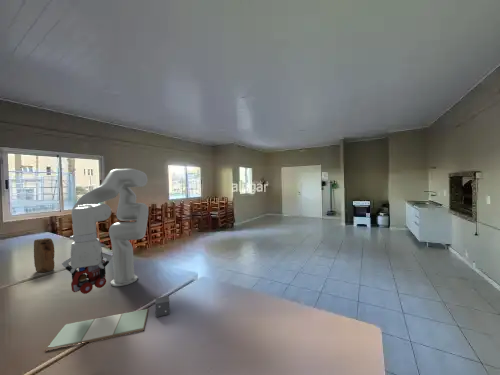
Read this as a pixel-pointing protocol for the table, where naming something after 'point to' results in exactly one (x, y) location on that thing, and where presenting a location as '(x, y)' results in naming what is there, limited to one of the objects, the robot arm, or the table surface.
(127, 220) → the robot arm
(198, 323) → the table surface
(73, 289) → the toy fire truck
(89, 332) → the pale green flat board
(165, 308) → the die
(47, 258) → the block
